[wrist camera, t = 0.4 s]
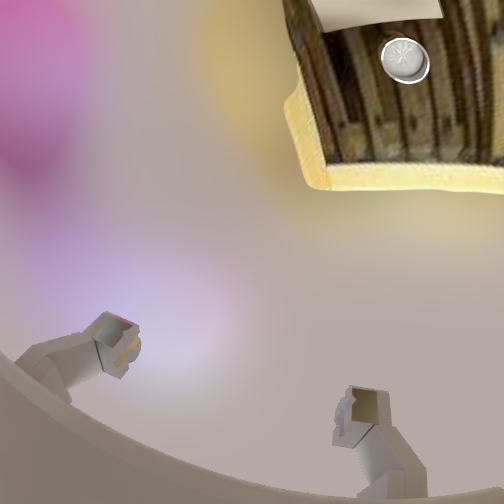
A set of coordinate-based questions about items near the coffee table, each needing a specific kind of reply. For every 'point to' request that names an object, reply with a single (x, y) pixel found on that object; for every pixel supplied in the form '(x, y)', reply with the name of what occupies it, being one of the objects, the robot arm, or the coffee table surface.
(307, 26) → the coffee table surface
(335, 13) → the beige t-shaped block
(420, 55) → the beer glass
